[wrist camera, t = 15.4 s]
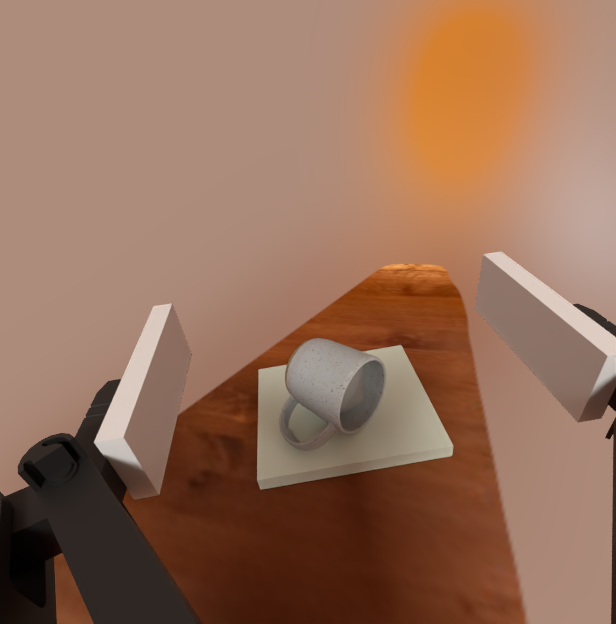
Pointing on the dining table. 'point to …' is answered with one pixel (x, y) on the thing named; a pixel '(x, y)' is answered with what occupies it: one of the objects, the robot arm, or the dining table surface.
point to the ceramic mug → (332, 388)
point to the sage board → (349, 447)
